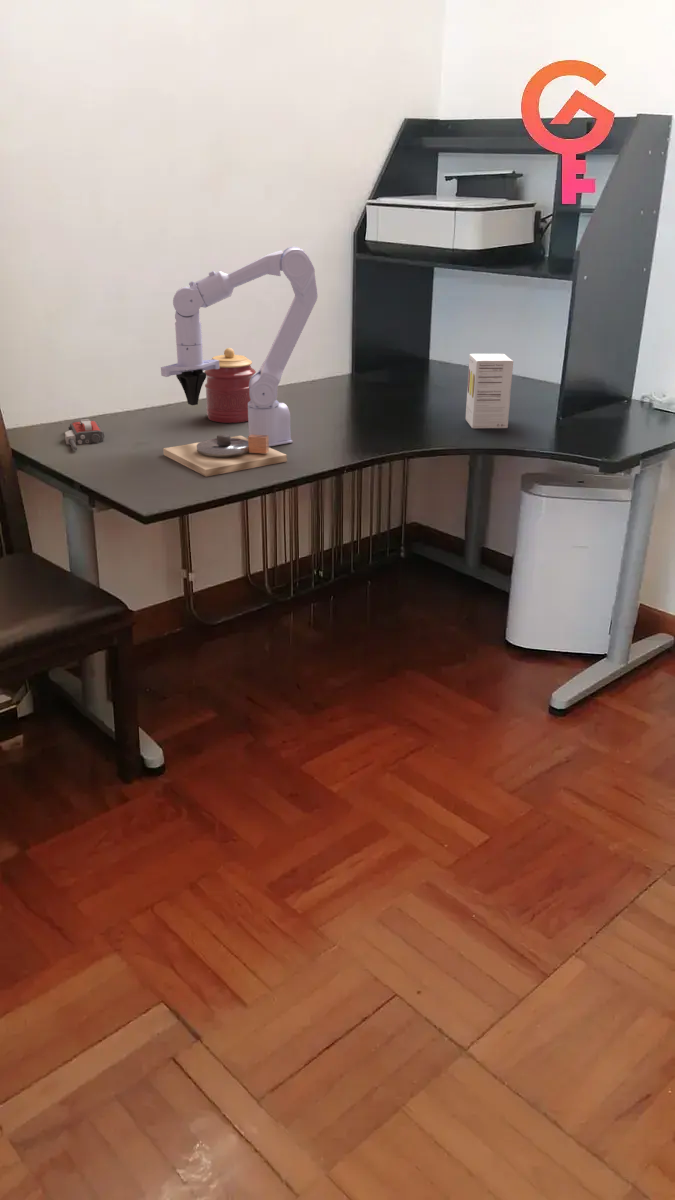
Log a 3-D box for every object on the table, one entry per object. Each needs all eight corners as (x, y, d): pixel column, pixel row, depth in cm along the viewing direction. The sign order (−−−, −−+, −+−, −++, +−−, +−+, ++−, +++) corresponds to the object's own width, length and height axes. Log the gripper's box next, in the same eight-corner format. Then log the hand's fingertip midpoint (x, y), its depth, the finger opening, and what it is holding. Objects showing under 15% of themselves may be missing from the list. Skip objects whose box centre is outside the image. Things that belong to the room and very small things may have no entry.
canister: (203, 423, 239) (200, 352, 231) (209, 411, 250) (206, 343, 243) (255, 423, 239) (253, 352, 232) (258, 411, 251) (256, 343, 243)
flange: (188, 454, 205) (187, 439, 204) (207, 440, 216) (207, 425, 215) (259, 459, 202) (259, 443, 201) (275, 445, 213) (274, 429, 211)
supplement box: (464, 419, 244) (468, 353, 237) (499, 419, 245) (504, 352, 238) (472, 429, 235) (476, 360, 228) (508, 428, 236) (514, 359, 229)
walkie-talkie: (61, 433, 231) (70, 455, 214) (59, 415, 229) (68, 436, 212) (97, 430, 233) (110, 451, 217) (95, 413, 232) (108, 432, 215)
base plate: (241, 441, 223) (240, 420, 221) (286, 461, 208) (286, 439, 206) (163, 454, 213) (162, 433, 210) (206, 476, 198) (204, 453, 196)
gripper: (205, 338, 218) (208, 396, 224) (151, 344, 209) (156, 405, 215) (223, 341, 214) (226, 401, 219) (169, 349, 205) (173, 411, 210)
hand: (192, 404), depth 217 cm, fingers closed
